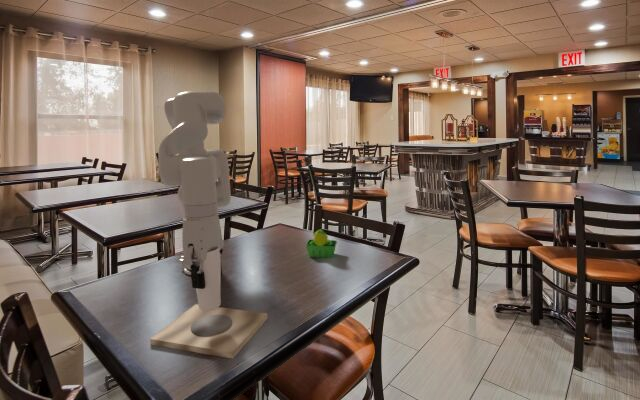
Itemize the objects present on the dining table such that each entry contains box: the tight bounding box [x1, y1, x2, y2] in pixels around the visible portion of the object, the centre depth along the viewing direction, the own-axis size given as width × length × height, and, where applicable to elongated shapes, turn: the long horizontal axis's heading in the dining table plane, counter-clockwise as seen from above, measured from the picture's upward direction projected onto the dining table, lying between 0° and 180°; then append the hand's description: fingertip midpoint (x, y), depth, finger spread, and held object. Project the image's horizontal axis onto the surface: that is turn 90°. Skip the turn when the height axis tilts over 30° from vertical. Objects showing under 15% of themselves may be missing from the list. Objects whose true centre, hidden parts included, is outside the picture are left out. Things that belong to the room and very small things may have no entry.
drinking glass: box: [194, 247, 222, 311], centre depth 92 cm, size 7×7×15 cm
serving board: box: [149, 303, 268, 359], centre depth 95 cm, size 22×18×2 cm
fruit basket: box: [305, 229, 338, 259], centre depth 146 cm, size 11×9×11 cm
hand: (207, 281), depth 92 cm, fingers closed on drinking glass, 6 cm apart
